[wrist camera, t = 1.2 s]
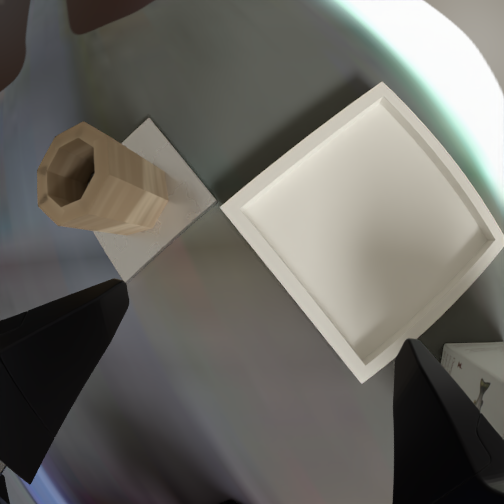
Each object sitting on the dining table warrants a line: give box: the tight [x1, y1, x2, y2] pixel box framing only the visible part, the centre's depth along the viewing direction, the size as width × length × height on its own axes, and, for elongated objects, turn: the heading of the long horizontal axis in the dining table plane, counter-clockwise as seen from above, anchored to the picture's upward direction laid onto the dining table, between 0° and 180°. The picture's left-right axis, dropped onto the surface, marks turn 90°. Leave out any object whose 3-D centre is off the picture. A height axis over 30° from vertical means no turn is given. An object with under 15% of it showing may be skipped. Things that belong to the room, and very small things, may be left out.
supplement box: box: [441, 342, 504, 439], centre depth 14 cm, size 7×7×13 cm
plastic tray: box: [220, 82, 504, 384], centre depth 21 cm, size 16×16×2 cm
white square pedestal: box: [87, 118, 218, 283], centre depth 22 cm, size 10×10×6 cm
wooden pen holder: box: [37, 121, 169, 236], centre depth 20 cm, size 6×6×8 cm
